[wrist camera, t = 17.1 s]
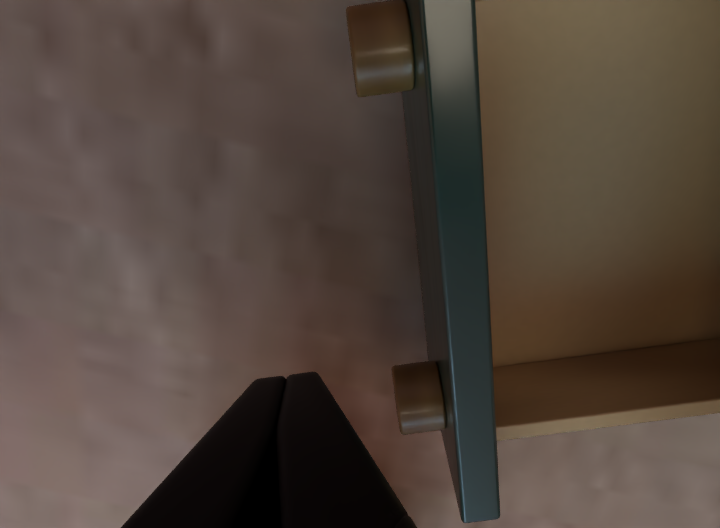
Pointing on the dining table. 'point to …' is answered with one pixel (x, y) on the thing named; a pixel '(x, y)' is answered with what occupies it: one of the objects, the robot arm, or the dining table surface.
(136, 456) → the dining table surface
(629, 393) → the drawer
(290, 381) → the robot arm
